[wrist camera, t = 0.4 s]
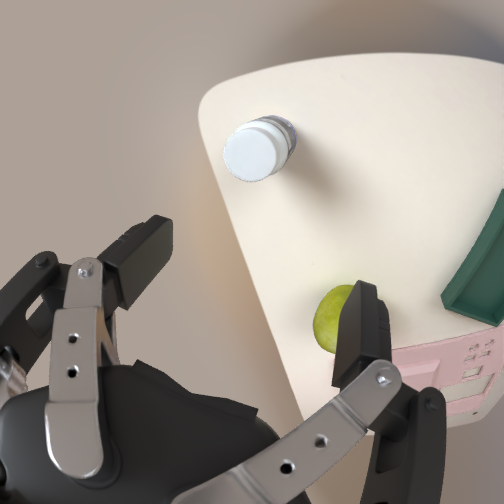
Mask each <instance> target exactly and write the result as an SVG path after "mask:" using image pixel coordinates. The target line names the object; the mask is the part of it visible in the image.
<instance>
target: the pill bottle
mask: <svg viewBox="0 0 504 504" xmlns="http://www.w3.org/2000/svg"><path fill="white" fill-rule="evenodd" d="M296 142H297V136H296V132H295V130H294V128H293V126H292V125H291V124H290V122H288V121H287V120H286V119H284V118H282V117H279V116H274V115H270V116H264V117H261V118H259V119H256V120H253V121H250V122H247V123H245V124H243V125H242V126H240V127H239V128H238V129H237V130H236V131H235V132H234V134H233V135H232V136H231V137H230V138H229V139H228V141H227V142H226V144H225V147H224V161H225V164H226V166H227V168H228V169H229V171H230V172H231V173H232V174H233V175H234V176H235V177H237V178H239V179H241V180H243V181H247V182H256V181H260V180H263V179H265V178H266V177H268V176H270V175H272V174H274V173H276V172H277V171H279V170H280V169H281V168H282V167H283V165H284V164H285V162H286V161H287V159H288V158H289V156H290V155H291V153H292V152H293V150H294V149H295V146H296Z"/></svg>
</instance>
